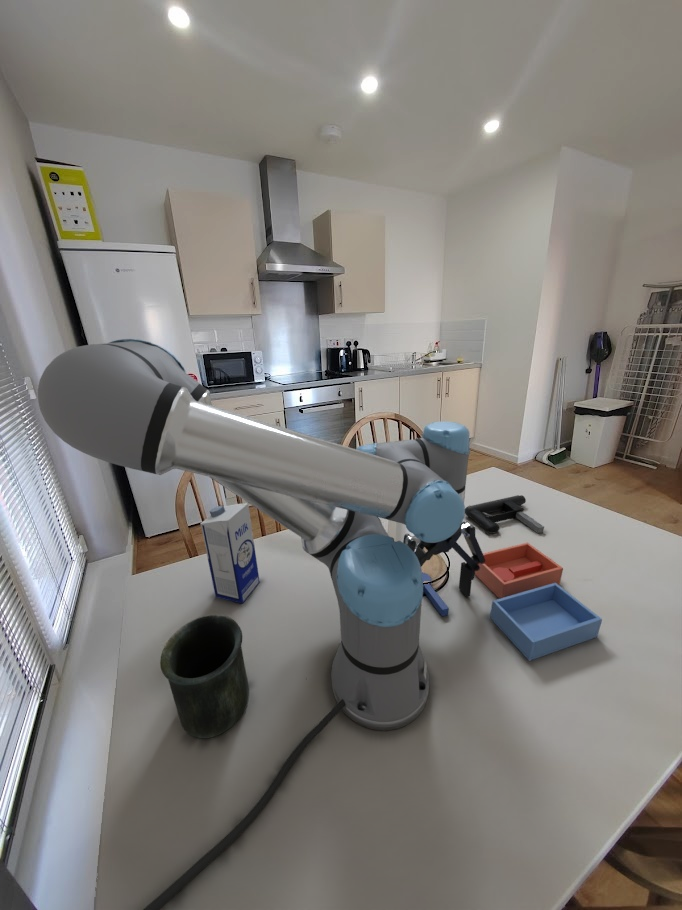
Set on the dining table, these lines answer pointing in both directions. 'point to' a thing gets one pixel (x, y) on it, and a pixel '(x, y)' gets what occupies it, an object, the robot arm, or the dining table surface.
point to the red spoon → (517, 570)
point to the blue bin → (544, 620)
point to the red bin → (512, 559)
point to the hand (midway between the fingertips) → (435, 600)
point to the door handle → (507, 506)
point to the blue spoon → (434, 596)
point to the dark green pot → (207, 674)
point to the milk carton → (231, 552)
